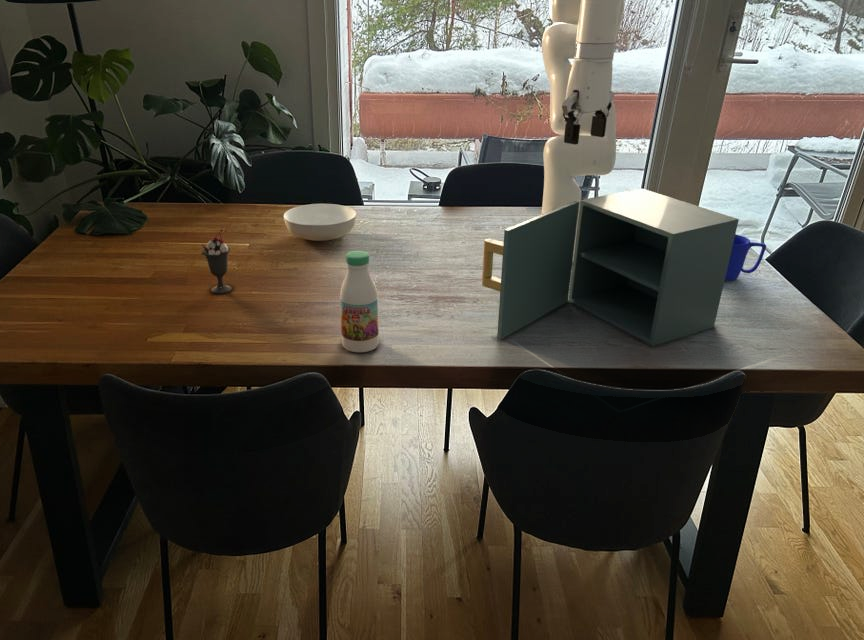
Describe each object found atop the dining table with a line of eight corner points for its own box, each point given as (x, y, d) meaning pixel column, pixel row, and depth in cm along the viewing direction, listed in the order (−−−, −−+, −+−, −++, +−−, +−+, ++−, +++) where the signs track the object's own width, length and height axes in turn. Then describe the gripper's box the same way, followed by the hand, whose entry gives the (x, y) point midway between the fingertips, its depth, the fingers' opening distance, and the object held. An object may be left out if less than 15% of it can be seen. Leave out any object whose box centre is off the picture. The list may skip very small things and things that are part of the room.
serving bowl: (355, 248, 201) (354, 224, 197) (280, 249, 201) (278, 225, 198) (358, 224, 219) (358, 202, 216) (290, 225, 219) (288, 203, 216)
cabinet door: (470, 327, 156) (475, 222, 144) (538, 292, 172) (547, 194, 160) (500, 339, 151) (508, 230, 139) (567, 301, 167) (579, 201, 155)
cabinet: (652, 346, 147) (673, 234, 136) (568, 301, 167) (580, 199, 156) (714, 327, 154) (738, 219, 143) (626, 286, 175) (641, 188, 163)
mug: (761, 285, 173) (771, 246, 169) (708, 282, 176) (717, 243, 171) (753, 273, 180) (762, 235, 176) (702, 270, 183) (710, 232, 178)
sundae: (240, 286, 178) (233, 228, 171) (224, 296, 173) (216, 237, 165) (218, 282, 180) (211, 225, 173) (202, 292, 175) (193, 233, 168)
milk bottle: (341, 337, 153) (337, 248, 143) (377, 335, 153) (375, 246, 144) (342, 354, 146) (338, 262, 137) (380, 352, 147) (378, 260, 137)
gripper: (602, 47, 151) (592, 131, 159) (553, 54, 141) (545, 143, 149) (634, 49, 146) (622, 136, 155) (586, 57, 136) (575, 149, 144)
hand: (584, 139), depth 152 cm, fingers open, 9 cm apart
